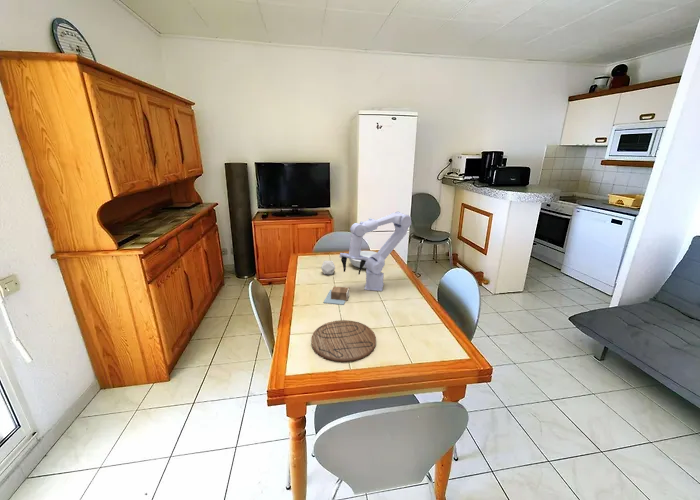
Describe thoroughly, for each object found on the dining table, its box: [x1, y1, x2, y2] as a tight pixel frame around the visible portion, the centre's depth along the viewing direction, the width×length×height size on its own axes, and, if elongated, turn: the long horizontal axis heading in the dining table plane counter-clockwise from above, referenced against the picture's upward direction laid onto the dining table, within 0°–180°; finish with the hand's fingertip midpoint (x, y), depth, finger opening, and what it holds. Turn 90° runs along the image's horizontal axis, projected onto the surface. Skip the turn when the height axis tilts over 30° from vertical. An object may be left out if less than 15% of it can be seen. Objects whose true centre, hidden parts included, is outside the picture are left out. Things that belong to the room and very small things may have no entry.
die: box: [320, 260, 336, 276], centre depth 179 cm, size 8×9×10 cm
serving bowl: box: [348, 250, 378, 269], centre depth 192 cm, size 21×21×7 cm
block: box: [331, 286, 350, 301], centre depth 150 cm, size 4×6×8 cm
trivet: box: [310, 319, 377, 363], centre depth 117 cm, size 25×25×2 cm
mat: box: [323, 289, 347, 306], centre depth 151 cm, size 10×14×1 cm
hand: (351, 272), depth 155 cm, fingers open, 7 cm apart
